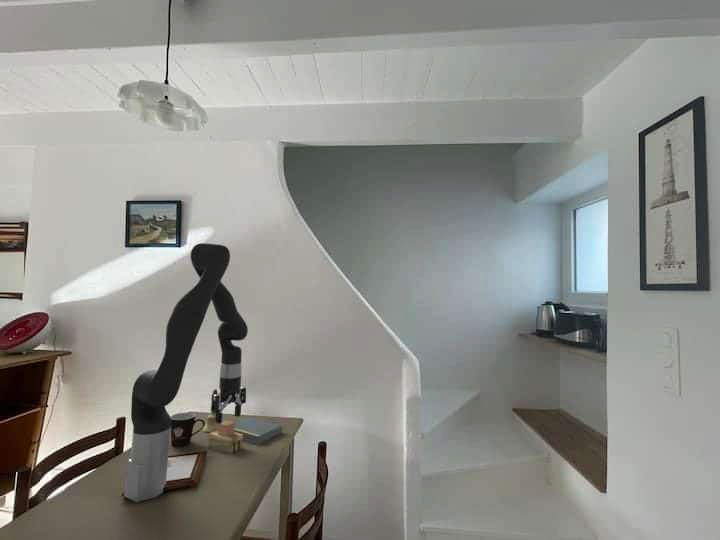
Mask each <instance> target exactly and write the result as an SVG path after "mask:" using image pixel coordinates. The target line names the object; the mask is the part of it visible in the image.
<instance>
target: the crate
mask: <svg viewBox="0 0 720 540" xmlns="http://www.w3.org/2000/svg"><path fill="white" fill-rule="evenodd" d="M235 423H236V422H235V421H231V420H225V421H224V420H223V421H222V423H220V424H219V426H218V435H221V436H224V437H227V436H229V435H232V434H234V430H235Z"/></svg>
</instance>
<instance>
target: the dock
mask: <svg viewBox="0 0 720 540" xmlns="http://www.w3.org/2000/svg"><path fill="white" fill-rule="evenodd" d="M234 432H236V433H240V434H243V442H246V443H250V444H253V445H256V446H258V445H260V444H262V443H264V442H266V441H268V440H270V438H271V439H273V438H274V436H275V437H277V436H279V435H280V434H279V433H281V434H282V433H283V425H281V424H277V423H273V422H270V421H266V420H261V419H257V418H253V417H247V418H244V419H243V420H239V421H236V422H235V430H234ZM278 434H279V435H278ZM276 435H277V436H276ZM272 437H273V438H272Z"/></svg>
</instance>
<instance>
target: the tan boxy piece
mask: <svg viewBox="0 0 720 540" xmlns="http://www.w3.org/2000/svg"><path fill="white" fill-rule="evenodd" d="M243 446H244V441H243V434H240V433H236V432H234V434H232V435H229V436H227V437H224V436H221V435H218V430H217V431H215V432H208V448H210V449H212V450H216V451H218V452H222V453H224V454H228V455H231V454H233V453H235V452H238V450H242V449H243Z"/></svg>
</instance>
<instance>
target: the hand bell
mask: <svg viewBox="0 0 720 540" xmlns="http://www.w3.org/2000/svg"><path fill="white" fill-rule="evenodd" d="M213 394H215V395H218V389H213V391H212V394H211V397H210V398H211V399H210V400H211V402H212V396H213ZM215 418H216V413H215V412H211V411H210V414H209V415H208V416H207V418H206V421H205V426H204V427H203V426H202V427H203V429H202V430H201V432H204V433H212V432H215V431H217V430H218V426H219V423H216V421H215Z"/></svg>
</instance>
